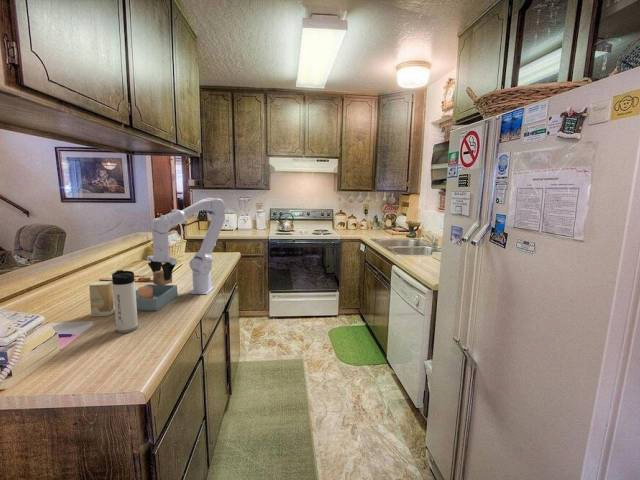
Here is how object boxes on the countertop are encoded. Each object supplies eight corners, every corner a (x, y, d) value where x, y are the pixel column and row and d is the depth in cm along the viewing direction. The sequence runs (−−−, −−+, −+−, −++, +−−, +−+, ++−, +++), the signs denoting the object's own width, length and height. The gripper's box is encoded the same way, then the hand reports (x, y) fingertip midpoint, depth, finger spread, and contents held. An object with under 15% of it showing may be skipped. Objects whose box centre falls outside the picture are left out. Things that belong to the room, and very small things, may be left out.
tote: (148, 294, 136) (147, 284, 135) (177, 295, 136) (177, 285, 135) (123, 310, 119) (122, 298, 118) (156, 311, 119) (156, 299, 118)
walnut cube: (153, 283, 127) (152, 272, 127) (164, 280, 132) (163, 269, 131) (162, 285, 125) (161, 273, 125) (172, 282, 130) (171, 271, 129)
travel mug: (133, 323, 109) (129, 268, 105) (141, 328, 104) (137, 272, 101) (113, 328, 104) (108, 272, 100) (120, 335, 100) (115, 276, 96)
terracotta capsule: (136, 306, 121) (135, 289, 120) (145, 301, 126) (143, 285, 125) (148, 306, 121) (147, 289, 120) (156, 302, 126) (155, 286, 125)
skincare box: (90, 317, 112) (87, 285, 110) (96, 312, 116) (93, 281, 114) (111, 315, 114) (108, 284, 112) (115, 311, 118) (112, 280, 116)
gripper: (139, 247, 125) (141, 279, 127) (166, 251, 120) (167, 284, 122) (154, 244, 131) (156, 274, 134) (180, 248, 126) (181, 279, 129)
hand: (162, 279), depth 128 cm, fingers closed on walnut cube, 5 cm apart
